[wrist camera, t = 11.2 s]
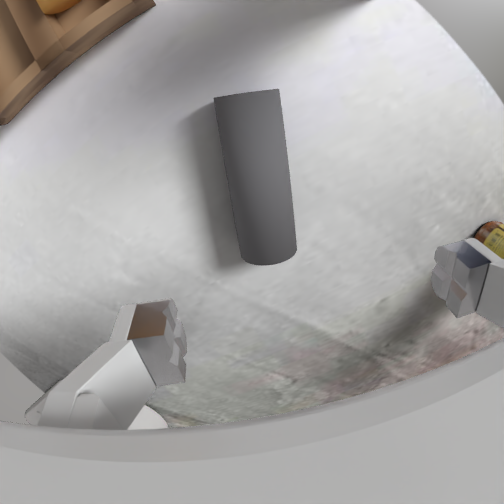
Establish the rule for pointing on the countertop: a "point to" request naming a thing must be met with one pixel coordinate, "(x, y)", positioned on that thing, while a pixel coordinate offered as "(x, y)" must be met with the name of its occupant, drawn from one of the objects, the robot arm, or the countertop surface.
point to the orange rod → (56, 5)
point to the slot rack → (51, 43)
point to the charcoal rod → (258, 174)
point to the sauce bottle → (492, 237)
